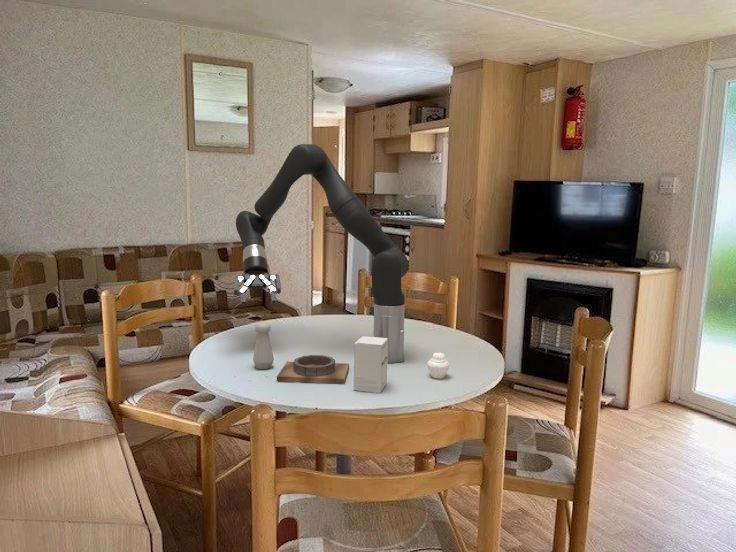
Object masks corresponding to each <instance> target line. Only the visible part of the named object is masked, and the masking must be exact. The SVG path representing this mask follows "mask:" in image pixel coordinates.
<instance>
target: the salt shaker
mask: <svg viewBox="0 0 736 552" xmlns="http://www.w3.org/2000/svg"><path fill="white" fill-rule="evenodd" d="M254 328H255V332H256V333H257V334H256V340H255V345H254V350H253V351H254V353H253V359H252V361H253V364H254V367H255V368H256V369H257V368H258V369H257V370H259V369H266V370H268V368H269V369H271V368H272V365H273V363H274V359H275V358H274V357H275V356H274V353H273V348H272V344H271V339H270V334H269V332H271V328H272V326H271V324H270V323H269V322H258V323H256V324H255V326H254Z"/></svg>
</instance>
